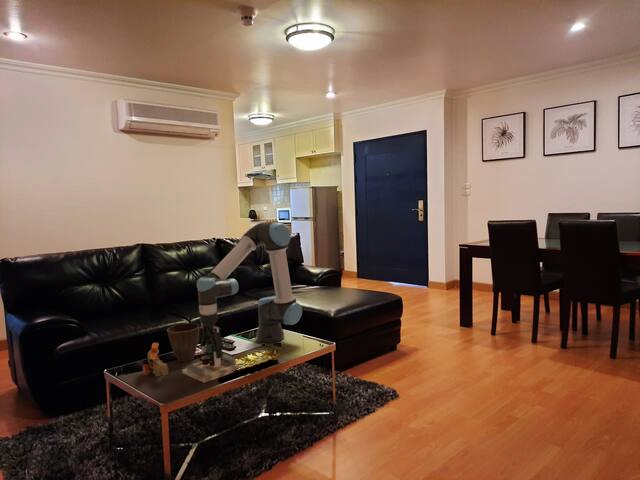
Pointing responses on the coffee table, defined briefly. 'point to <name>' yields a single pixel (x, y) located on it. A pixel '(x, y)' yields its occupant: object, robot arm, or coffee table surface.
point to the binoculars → (210, 354)
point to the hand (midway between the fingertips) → (211, 362)
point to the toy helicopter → (155, 363)
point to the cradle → (211, 369)
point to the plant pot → (184, 340)
